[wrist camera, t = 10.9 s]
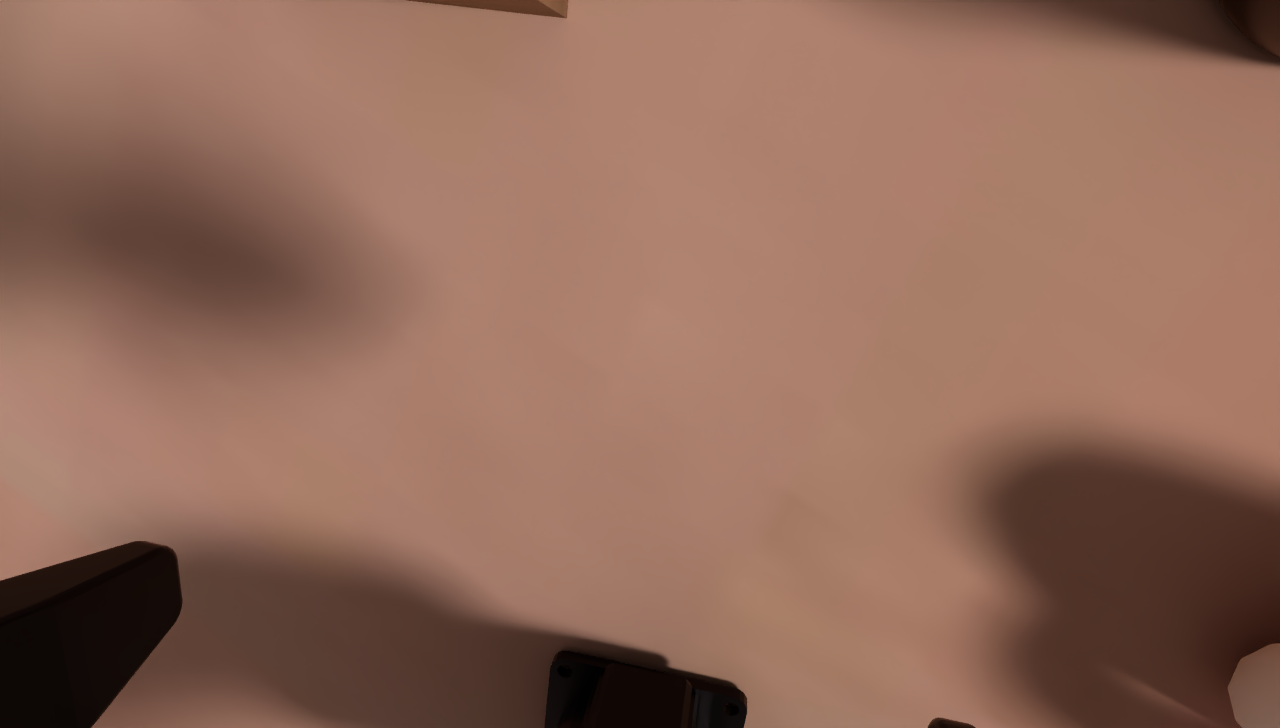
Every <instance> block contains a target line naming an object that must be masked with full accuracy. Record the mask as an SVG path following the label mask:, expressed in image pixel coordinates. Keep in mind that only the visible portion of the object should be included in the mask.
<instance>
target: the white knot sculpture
mask: <svg viewBox="0 0 1280 728" xmlns="http://www.w3.org/2000/svg"><path fill="white" fill-rule="evenodd" d="M1227 689H1228V693H1229V697H1230V701H1231V705H1232V709H1233V713H1234V717H1235V720H1236V721H1237V723H1238V724H1239V725H1240V726H1241V727H1242V728H1280V643H1277V644H1269V645H1267V646H1265V647H1263V648H1261V649H1259V650H1257V651H1255V652H1253V653H1251V654H1249V655H1247V656H1245V657H1243V658H1241V660H1240V661H1239V663H1238V665H1237V667H1236V669H1235V672H1234V674H1233V676H1232V678H1231V681H1230V683H1229V685H1228V687H1227Z"/></svg>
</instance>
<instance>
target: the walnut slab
mask: <svg viewBox="0 0 1280 728" xmlns="http://www.w3.org/2000/svg"><path fill="white" fill-rule="evenodd" d="M408 1H417V2H426V3H435V4H444V5H453V6H462V7H471V8H480V9H488V10H497V11H506V12H515V13H524V14H533V15H542V16H551V17H560V18H567V10H568V0H408Z"/></svg>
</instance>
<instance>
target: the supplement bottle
mask: <svg viewBox="0 0 1280 728" xmlns="http://www.w3.org/2000/svg"><path fill="white" fill-rule="evenodd" d="M1219 1H1220V3H1221V5H1222V7H1223V8H1224V10H1225V12H1226V13H1227V15H1228V16H1229V18H1230V19H1231V20H1232V21H1233V23H1234V24H1235V25H1236V26H1237V28H1238V29H1239V30H1240V31H1241V32H1242V33H1244V34H1245V35H1246V36H1247V37H1248V38H1249V39H1250V40H1252V41H1253V42H1254V43H1256V44H1257V45H1258V46H1260V47H1261V48H1263V49H1265V50H1267V51H1268V52H1270V53H1272V54H1274V55H1276V56H1278V57H1280V0H1219Z"/></svg>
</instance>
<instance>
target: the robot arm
mask: <svg viewBox="0 0 1280 728" xmlns="http://www.w3.org/2000/svg"><path fill="white" fill-rule="evenodd" d="M181 608H182V592H181V584H180V576H179V568H178V560H177V555H176V553H175V552H174V551H173V549H171V548H170V547H168V546H164V545H159V544H155V543H150V542H146V541H135V542H131V543H128V544H124V545H121V546H117V547H114V548H111V549H107V550H104V551H100V552H97V553H93V554H90V555H87V556H83V557H80V558H76V559H73V560H70V561H66V562H63V563H59V564H56V565H53V566H49V567H46V568H42V569H39V570H36V571H32V572H29V573H25V574H22V575H18V576H15V577H12V578H8V579H5V580H1V581H0V728H91V727H92V726H93V725H94V724H95V722H96V721H97V720H98V719H99V718H100V716H101V715H102V714H103V713H104V711H105V710H106V709H107V708H108V706H109V705H110V704H111V702H112V701H113V700H114V699H115V697H116V696H117V695H118V694H119V692H120V691H121V690H122V689H123V687H124V686H125V685H126V684H127V682H128V681H129V680H130V679H131V677H132V676H133V675H134V674H135V672H136V671H137V670H138V669H139V667H140V666H141V665H142V664H143V662H144V661H145V660H146V659H147V657H148V656H149V655H150V654H151V652H152V651H153V650H154V649H155V647H156V646H157V645H158V644H159V642H160V641H161V640H162V639H163V637H164V636H165V635H166V634H167V632H168V631H169V630H170V629H171V627H172V626H173V625H174V623H175V622H176V620H177V618H178V616H179V614H180V611H181ZM562 665H566V666H568V667H570V668H571V669H567V668H564V667H563V666H562ZM727 703H733V704H736V706H729V705H727ZM746 715H747V698H746V696H745V694H744V693H743V692H742V691H741V690H739V689H736V688H733V687H729V686H724V685H720V684H715V683H711V682H706V681H702V680H697V679H693V678H688V677H684V676H679V675H675V674H671V673H666V672H662V671H657V670H653V669H648V668H644V667H639V666H635V665H630V664H626V663H621V662H617V661H613V660H608V659H604V658H599V657H595V656H590V655H586V654H581V653H577V652H572V651H561V652H558V653H557V654H556V655H555V657H554V660H553V662H552V665H551V668H550V676H549V687H548V697H547V707H546V718H545V728H744V724H745V719H746ZM928 728H975V727H974V726H972V725H970V724H967V723H963V722H958V721H954V720H949V719H945V718H935V719H933V720H932V721H931V722H930V724H929V726H928Z"/></svg>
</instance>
